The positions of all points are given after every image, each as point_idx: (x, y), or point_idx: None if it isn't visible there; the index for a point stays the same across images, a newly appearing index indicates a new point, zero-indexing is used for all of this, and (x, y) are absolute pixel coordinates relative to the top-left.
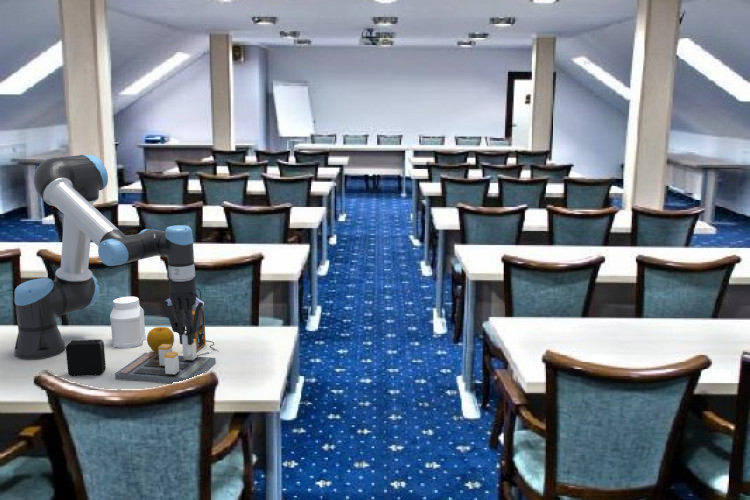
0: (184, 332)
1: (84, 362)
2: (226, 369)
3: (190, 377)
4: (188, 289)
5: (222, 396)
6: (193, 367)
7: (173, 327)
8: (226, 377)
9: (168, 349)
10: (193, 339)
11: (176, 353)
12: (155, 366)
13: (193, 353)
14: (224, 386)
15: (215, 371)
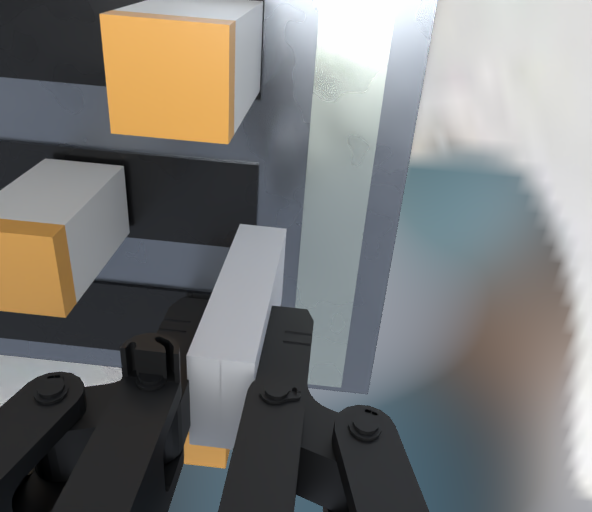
0: (185, 396)
1: None
2: (559, 95)
3: (360, 371)
4: None
5: (582, 474)
6: (323, 232)
7: (37, 507)
8: (577, 247)
9: (73, 288)
10: (311, 338)
11: None
12: None
13: (252, 82)
14: (579, 372)
15: (474, 146)
